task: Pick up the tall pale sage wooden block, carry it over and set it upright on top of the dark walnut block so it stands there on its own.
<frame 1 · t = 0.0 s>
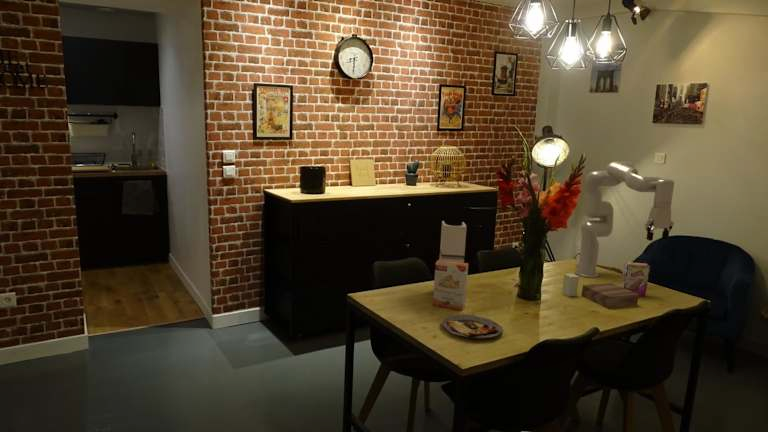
hand: (657, 239, 260), 31 cm above the table, tool pointing down, fingers open, 9 cm apart
walnut block: (608, 301, 264), on the table
cracker box: (448, 306, 244), on the table
sage block: (569, 294, 270), on the table
food plate: (471, 331, 218), on the table
lily: (521, 285, 281), on the table
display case: (448, 294, 262), on the table
candy bar box: (632, 294, 275), on the table
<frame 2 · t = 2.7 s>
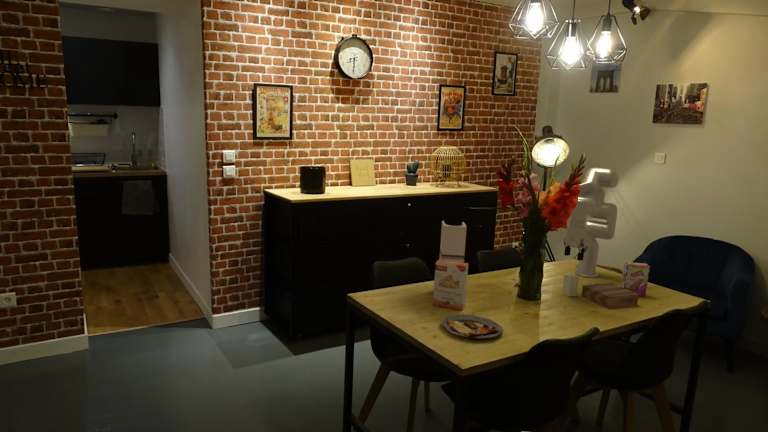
hand: (573, 257, 266), 19 cm above the table, tool pointing down, fingers open, 9 cm apart
nothing on the table moved.
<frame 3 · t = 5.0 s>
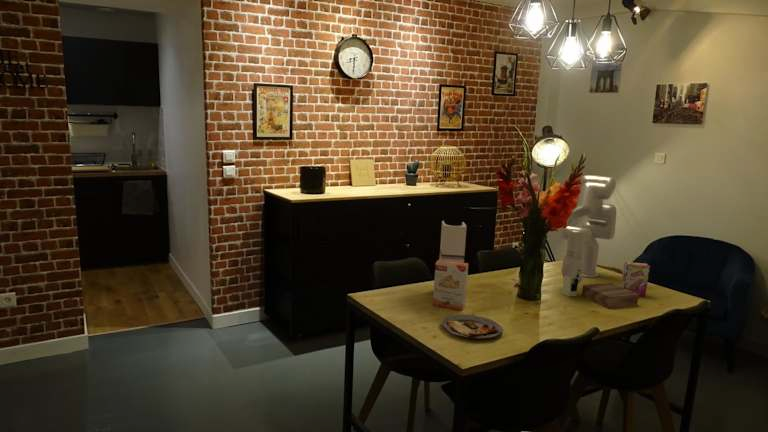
hand: (570, 288, 269), 3 cm above the table, tool pointing down, fingers closed on sage block, 5 cm apart
sage block: (569, 294, 270), on the table, touching gripper
everything else where it was.
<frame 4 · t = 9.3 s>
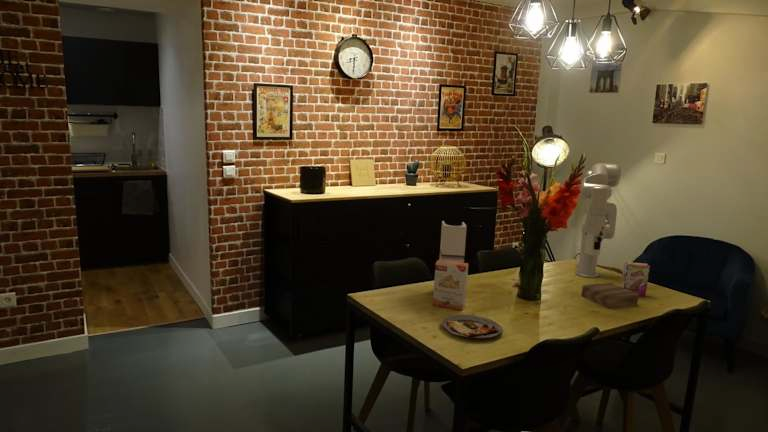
hand: (592, 247, 263), 25 cm above the table, tool pointing down, fingers closed on sage block, 5 cm apart
sage block: (591, 253, 263), point 22 cm above the table, touching gripper
everything else where it was.
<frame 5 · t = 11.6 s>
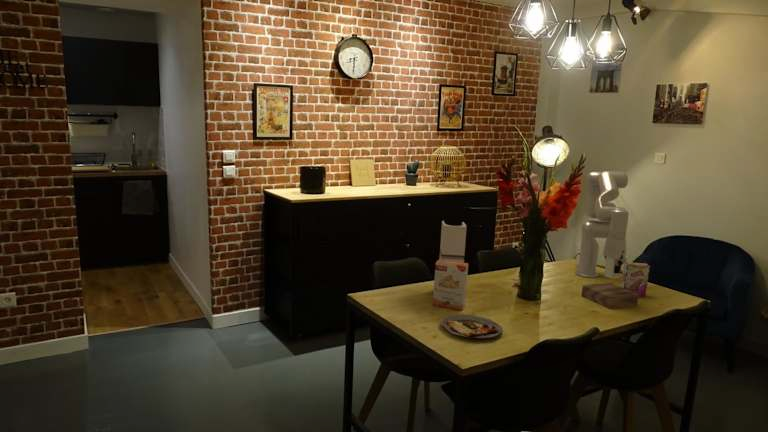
hand: (612, 271, 261), 15 cm above the table, tool pointing down, fingers closed on sage block, 5 cm apart
sage block: (611, 276, 261), point 12 cm above the table, touching gripper
when the fingers open (10 cm above the table, at t = 13.4 s): sage block drops 1 cm, resting on walnut block.
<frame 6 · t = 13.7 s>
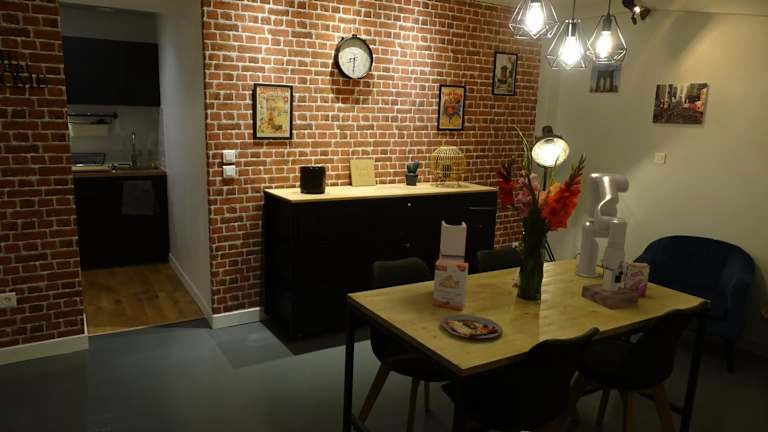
hand: (611, 280, 262), 10 cm above the table, tool pointing down, fingers open, 7 cm apart
walnut block: (608, 301, 264), on the table, touching sage block
sage block: (609, 289, 263), point 6 cm above the table, touching walnut block
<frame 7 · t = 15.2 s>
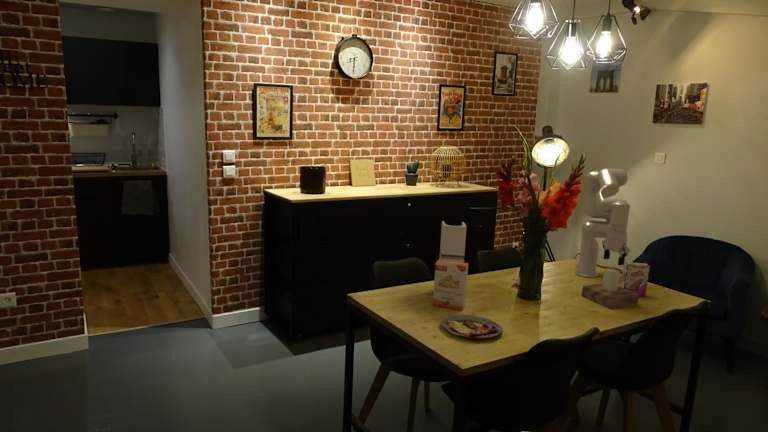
hand: (613, 261, 261), 19 cm above the table, tool pointing down, fingers open, 9 cm apart
walnut block: (608, 301, 264), on the table
sage block: (609, 289, 263), point 5 cm above the table
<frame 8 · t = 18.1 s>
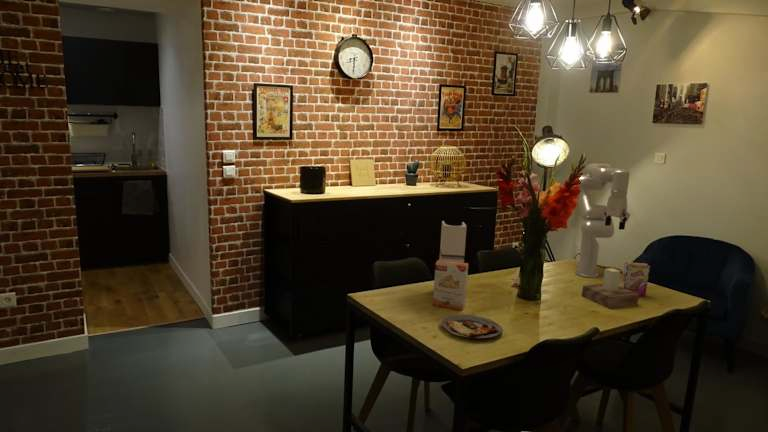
hand: (614, 227, 275), 33 cm above the table, tool pointing down, fingers open, 9 cm apart
walnut block: (608, 301, 264), on the table, touching sage block
sage block: (610, 289, 263), point 6 cm above the table, touching walnut block
at the end: sage block inside the target area on the walnut block (0.3 cm from its centre), point 6.0 cm above the walnut block's base; sage block tilted 1°; the gripper is holding nothing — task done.
